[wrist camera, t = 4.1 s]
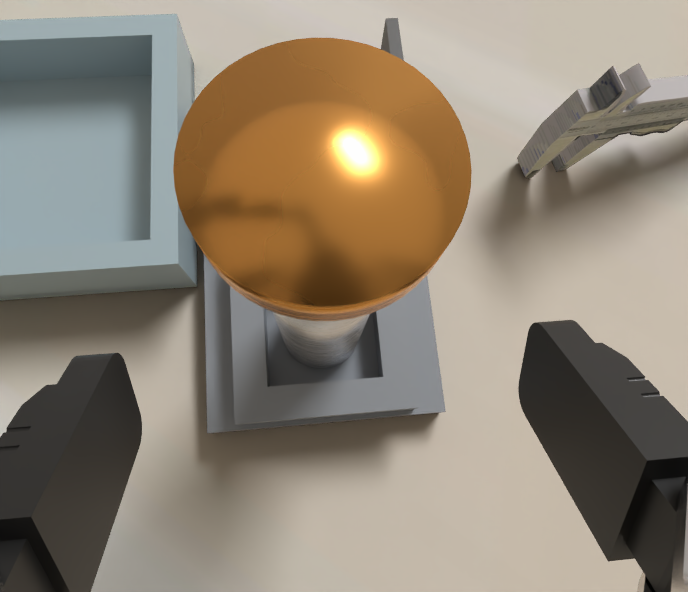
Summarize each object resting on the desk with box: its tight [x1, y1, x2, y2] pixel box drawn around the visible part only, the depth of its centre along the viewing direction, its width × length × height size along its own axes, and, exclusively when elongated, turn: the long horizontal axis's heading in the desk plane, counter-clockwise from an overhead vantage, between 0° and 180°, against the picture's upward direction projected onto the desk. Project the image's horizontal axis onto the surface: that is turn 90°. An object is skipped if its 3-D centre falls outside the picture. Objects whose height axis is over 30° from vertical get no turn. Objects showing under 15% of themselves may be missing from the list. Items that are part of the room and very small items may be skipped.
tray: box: [0, 14, 197, 300], centre depth 21 cm, size 11×11×3 cm
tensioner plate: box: [204, 18, 446, 433], centre depth 20 cm, size 9×16×4 cm, turn 5°
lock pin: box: [173, 38, 471, 369], centre depth 14 cm, size 4×4×13 cm
